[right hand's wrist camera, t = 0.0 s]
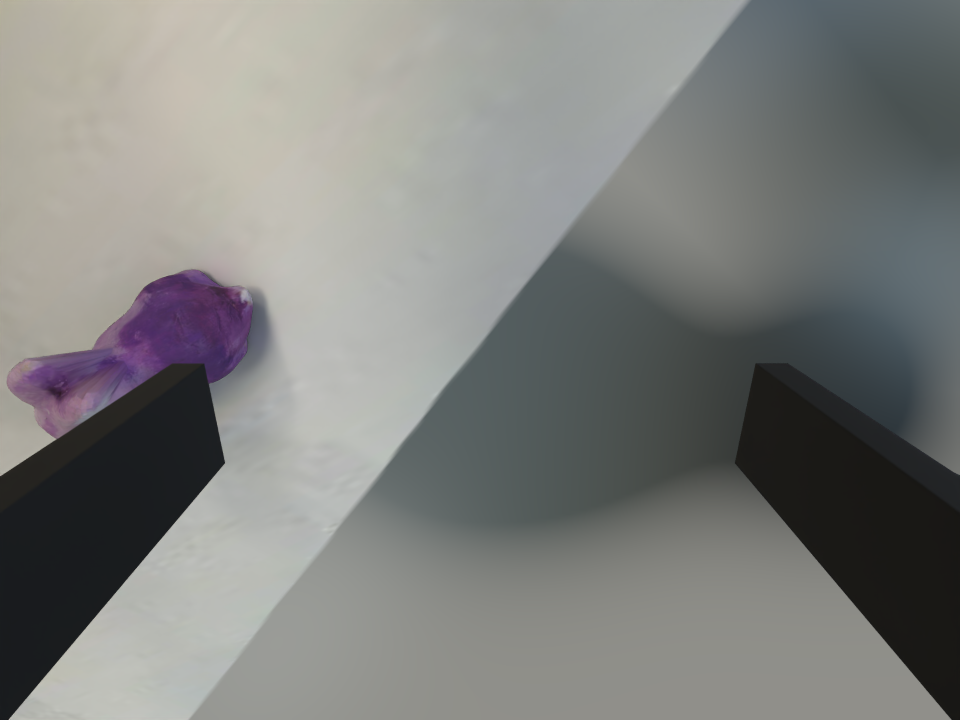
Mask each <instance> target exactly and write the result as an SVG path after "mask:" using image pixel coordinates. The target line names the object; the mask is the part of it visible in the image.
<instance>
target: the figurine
mask: <svg viewBox="0 0 960 720" xmlns="http://www.w3.org/2000/svg"><path fill="white" fill-rule="evenodd" d="M252 310H253V302H252V298H251V295H250V293H249V291H248V290H247V289H246V288H244V287H242V286H233V287H221V286H219V285H218V284H217V283H215V282H213V281H212V280H210V279H209V278H208V277H207V276H206V275H205V274H204V273H202V272H201V271H199V270H185V271H182V272H180V273H177V274H175V275H170V276H166V277H163V278H160V279H158V280H156V281H154V282H152V283H150V284H148V285H147V286H145V287H144V288H143V290H142V291H141V292H140V293H139V295H138V296H137V298H136V299H135V301H134V303H133V305H132V307H131V308H130V309H129V310H128V311H127V313H126V314H124V315H123V316H122V317H121V318H120V319H118V320H117V321H116V322H115V323H113V324H112V325H111V326H110V327H109V328H108V329H107V330H106V331H105V332H104V333H103V334H102V335H101V336H100V337H99V338H98V340H97V341H96V343H95V345H94V347H93V349H92V350H87V351H80V352H72V353H65V354H58V355H50V356H43V357H35V358H28V359H24V360H23V361H22V362H19V363H18V364H17V365H16V366H15V367H14V368H13V369H12V370H11V371H10V372H9V373H8V377H7V386H8V388H9V389H10V391H11V392H12V393H13V394H14V395H15V396H17V397H18V398H19V399H21V400H22V401H24V402H26V403H28V404H30V405H32V406H34V417H35V419H36V421H37V423H38V425H39V426H41V427H42V428H43V429H44V430H45V431H46V432H47V433H49V434H50V435H52V436H53V437H54V438H56V439H58V438H60V437H61V436H63V435H64V434H66V433H67V432H69V431H70V430H72V429H73V428H75V427H76V426H78V425H79V424H81V423H82V422H84V421H85V420H87V419H88V418H90V417H91V416H93V415H95V414H96V413H98V412H99V411H101V410H102V409H104V408H105V407H107V406H108V405H110V404H111V403H113V402H114V401H116V400H117V399H119V398H120V397H122V396H123V395H125V394H126V393H128V392H129V391H131V390H133V389H134V388H136V387H137V386H139V385H140V384H142V383H143V382H145V381H146V380H148V379H149V378H151V377H152V376H154V375H155V374H157V373H158V372H160V371H161V370H163V369H164V368H166V367H168V366H169V365H171V364H172V363H204V364H205V369H206V374H207V379H208V383H213V382H215V381H218V380H220V379H221V378H223V377H225V376H226V375H228V374H229V373H230V372H231V371H232V370H233V369H234V368H235V367H236V366H237V364H238V363H239V362H240V360H241V359H242V358H243V357H244V356H245V354H246V352H247V336H248V333H249V330H250V325H251V318H252Z"/></svg>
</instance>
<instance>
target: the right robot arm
mask: <svg viewBox="0 0 960 720" xmlns="http://www.w3.org/2000/svg"><path fill="white" fill-rule="evenodd" d="M224 464H225V460H224V456H223V451H222V446H221V441H220V436H219V432H218V427H217V422H216V417H215V412H214V408H213V403H212V398H211V393H210V388H209V383H208V379H207V374H206V369H205V364H204V363H172V364H171V365H169V366H168V367H166V368H164V369H163V370H161V371H160V372H158V373H157V374H155V375H154V376H152V377H151V378H149V379H148V380H146V381H145V382H143V383H142V384H140V385H139V386H137V387H136V388H134V389H133V390H131V391H129V392H128V393H126V394H125V395H123V396H122V397H120V398H119V399H117V400H116V401H114V402H113V403H111V404H110V405H108V406H107V407H105V408H104V409H102V410H101V411H99V412H98V413H96V414H95V415H93V416H91V417H90V418H88V419H87V420H85V421H84V422H82V423H81V424H79V425H78V426H76V427H75V428H73V429H72V430H70V431H69V432H67V433H66V434H64V435H63V436H61V437H60V438H58V439H56V440H55V441H53V442H52V443H50V444H49V445H47V446H46V447H44V448H43V449H41V450H40V451H38V452H37V453H35V454H34V455H32V456H31V457H29V458H28V459H26V460H25V461H23V462H21V463H20V464H18V465H17V466H15V467H14V468H12V469H11V470H9V471H8V472H6V473H5V474H3V475H2V476H0V720H9V718H10V717H11V716H12V715H13V714H14V712H15V711H16V710H17V709H18V708H19V707H20V705H21V704H22V703H23V702H24V701H25V699H26V698H27V697H28V696H29V695H30V694H31V692H32V691H33V690H34V689H35V688H36V686H37V685H38V684H39V683H40V682H41V680H42V679H43V678H44V677H45V676H46V675H47V673H48V672H49V671H50V670H51V669H52V667H53V666H54V665H55V664H56V663H57V662H58V660H59V659H60V658H61V657H62V656H63V654H64V653H65V652H66V651H67V650H68V649H69V647H70V646H71V645H72V644H73V643H74V641H75V640H76V639H77V638H78V637H79V635H80V634H81V633H82V632H83V631H84V630H85V628H86V627H87V626H88V625H89V624H90V622H91V621H92V620H93V619H94V618H95V617H96V615H97V614H98V613H99V612H100V611H101V609H102V608H103V607H104V606H105V605H106V604H107V602H108V601H109V600H110V599H111V598H112V596H113V595H114V594H115V593H116V592H117V590H118V589H119V588H120V587H121V586H122V585H123V583H124V582H125V581H126V580H127V579H128V577H129V576H130V575H131V574H132V573H133V572H134V570H135V569H136V568H137V567H138V566H139V564H140V563H141V562H142V561H143V560H144V558H145V557H146V556H147V555H148V554H149V553H150V551H151V550H152V549H153V548H154V547H155V545H156V544H157V543H158V542H159V541H160V540H161V538H162V537H163V536H164V535H165V534H166V532H167V531H168V530H169V529H170V528H171V527H172V525H173V524H174V523H175V522H176V521H177V519H178V518H179V517H180V516H181V515H182V513H183V512H184V511H185V510H186V509H187V508H188V506H189V505H190V504H191V503H192V502H193V500H194V499H195V498H196V497H197V496H198V495H199V493H200V492H201V491H202V490H203V489H204V487H205V486H206V485H207V484H208V483H209V481H210V480H211V479H212V478H213V477H214V476H215V474H216V473H217V472H218V471H219V470H220V468H221V467H222V466H223V465H224ZM735 464H736V465H737V466H738V467H739V468H740V470H741V471H742V472H743V473H744V474H745V475H746V477H747V478H748V479H749V480H750V482H751V483H752V484H753V485H754V486H755V487H756V489H757V490H758V491H759V492H760V493H761V495H762V496H763V497H764V498H765V499H766V500H767V502H768V503H769V504H770V505H771V506H772V507H773V509H774V510H775V511H776V512H777V513H778V515H779V516H780V517H781V518H782V519H783V521H784V522H785V523H786V524H787V525H788V527H789V528H790V529H791V530H792V531H793V532H794V534H795V535H796V536H797V537H798V538H799V540H800V541H801V542H802V543H803V544H804V545H805V547H806V548H807V549H808V550H809V551H810V553H811V554H812V555H813V556H814V557H815V558H816V560H817V561H818V562H819V563H820V564H821V566H822V567H823V568H824V569H825V570H826V572H827V573H828V574H829V575H830V576H831V577H832V579H833V580H834V581H835V582H836V583H837V585H838V586H839V587H840V588H841V589H842V590H843V592H844V593H845V594H846V595H847V596H848V598H849V599H850V600H851V601H852V602H853V603H854V605H855V606H856V607H857V608H858V609H859V611H860V612H861V613H862V614H863V615H864V616H865V618H866V619H867V620H868V621H869V622H870V624H871V625H872V626H873V627H874V628H875V630H876V631H877V632H878V633H879V634H880V635H881V637H882V638H883V639H884V640H885V641H886V643H887V644H888V645H889V646H890V647H891V649H892V650H893V651H894V652H895V653H896V654H897V656H898V657H899V658H900V659H901V660H902V662H903V663H904V664H905V665H906V666H907V667H908V669H909V670H910V671H911V672H912V673H913V675H914V676H915V677H916V678H917V679H918V680H919V682H920V683H921V684H922V685H923V686H924V688H925V689H926V690H927V691H928V692H929V694H930V695H931V696H932V697H933V698H934V699H935V701H936V702H937V703H938V704H939V705H940V707H941V708H942V709H943V710H944V711H945V712H946V714H947V715H948V716H949V717H950V718H951V720H960V475H958V474H956V473H954V472H952V471H951V470H949V469H948V468H946V467H945V466H943V465H942V464H940V463H938V462H937V461H935V460H934V459H932V458H931V457H929V456H928V455H926V454H925V453H923V452H922V451H920V450H919V449H917V448H916V447H914V446H913V445H911V444H910V443H908V442H907V441H905V440H904V439H902V438H900V437H899V436H897V435H896V434H894V433H893V432H891V431H890V430H888V429H887V428H885V427H884V426H882V425H881V424H879V423H878V422H876V421H875V420H873V419H872V418H870V417H869V416H867V415H865V414H864V413H862V412H861V411H859V410H858V409H856V408H855V407H853V406H852V405H850V404H849V403H847V402H846V401H844V400H843V399H841V398H840V397H838V396H837V395H835V394H834V393H832V392H830V391H829V390H827V389H826V388H824V387H823V386H821V385H820V384H818V383H817V382H815V381H814V380H812V379H811V378H809V377H808V376H806V375H805V374H803V373H802V372H800V371H799V370H797V369H795V368H794V367H792V366H791V365H789V364H788V363H756V364H755V369H754V374H753V379H752V383H751V388H750V393H749V398H748V403H747V408H746V412H745V417H744V422H743V427H742V432H741V436H740V441H739V446H738V451H737V456H736V460H735Z"/></svg>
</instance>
